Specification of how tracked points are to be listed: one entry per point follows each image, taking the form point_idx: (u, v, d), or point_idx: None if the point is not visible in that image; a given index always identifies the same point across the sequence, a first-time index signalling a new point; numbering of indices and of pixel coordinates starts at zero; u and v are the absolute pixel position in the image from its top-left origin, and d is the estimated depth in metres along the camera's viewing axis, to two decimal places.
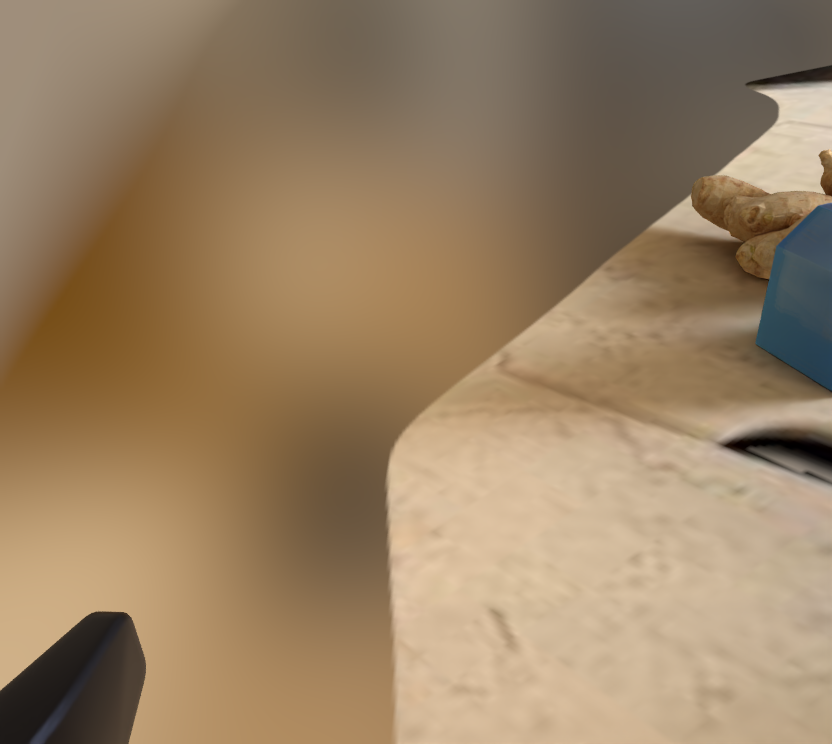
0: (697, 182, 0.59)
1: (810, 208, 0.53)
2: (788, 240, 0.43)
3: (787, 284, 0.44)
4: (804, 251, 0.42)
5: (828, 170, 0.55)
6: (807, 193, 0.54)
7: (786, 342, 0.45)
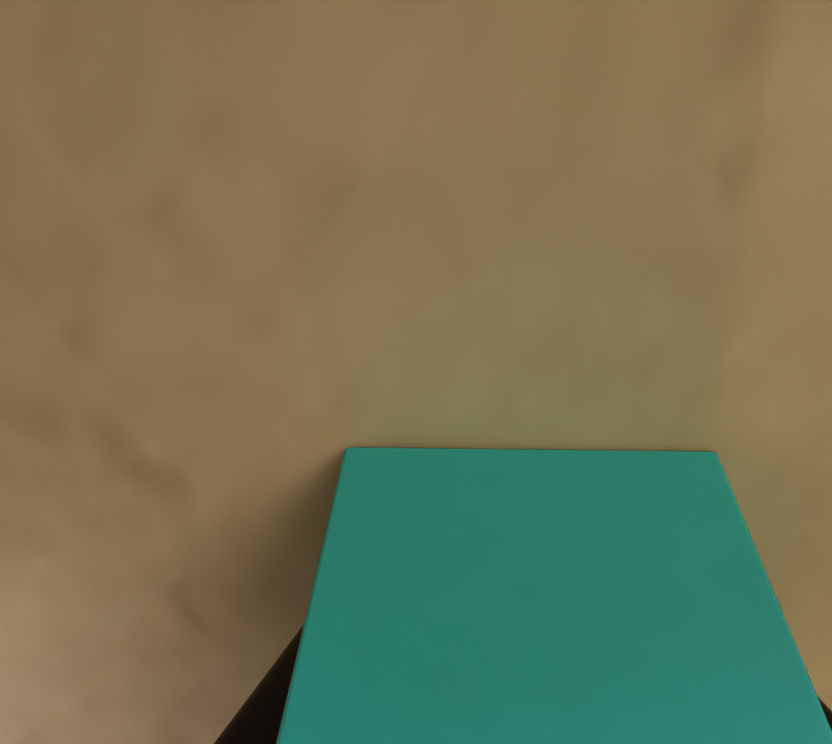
0: None
1: None
2: None
3: None
4: None
5: None
6: None
7: None
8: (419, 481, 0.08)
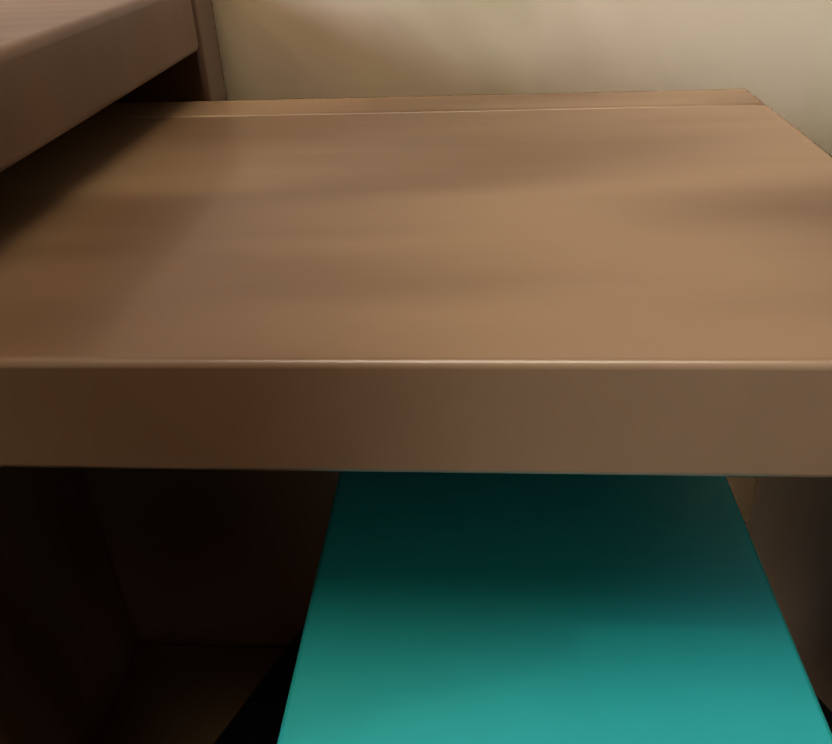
0: None
1: None
2: None
3: None
4: None
5: None
6: None
7: None
8: (419, 484, 0.08)
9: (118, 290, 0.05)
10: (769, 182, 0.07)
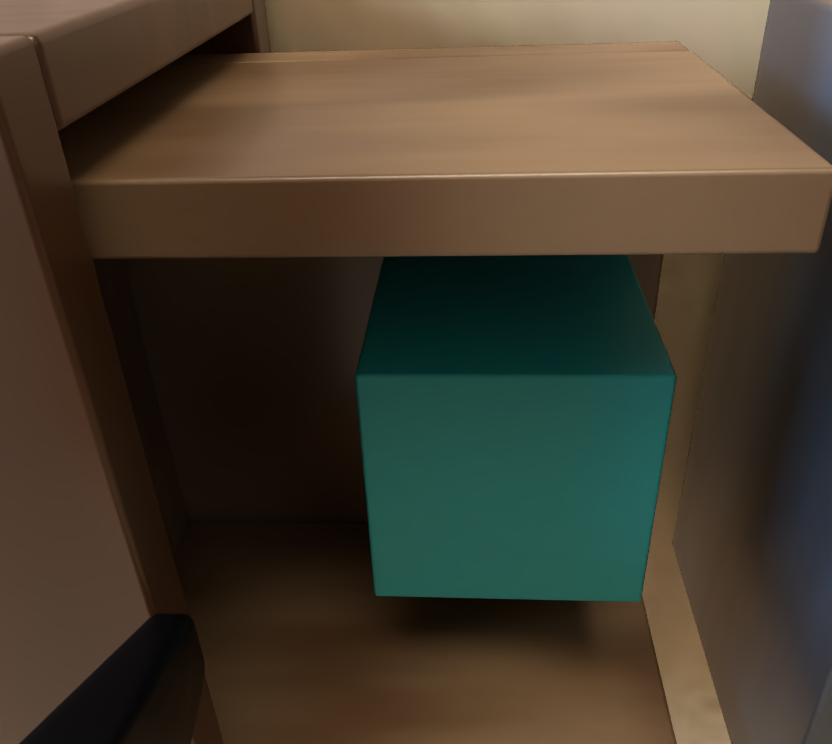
0: None
1: None
2: None
3: None
4: None
5: None
6: None
7: None
8: (434, 263, 0.13)
9: (232, 150, 0.08)
10: (676, 93, 0.09)
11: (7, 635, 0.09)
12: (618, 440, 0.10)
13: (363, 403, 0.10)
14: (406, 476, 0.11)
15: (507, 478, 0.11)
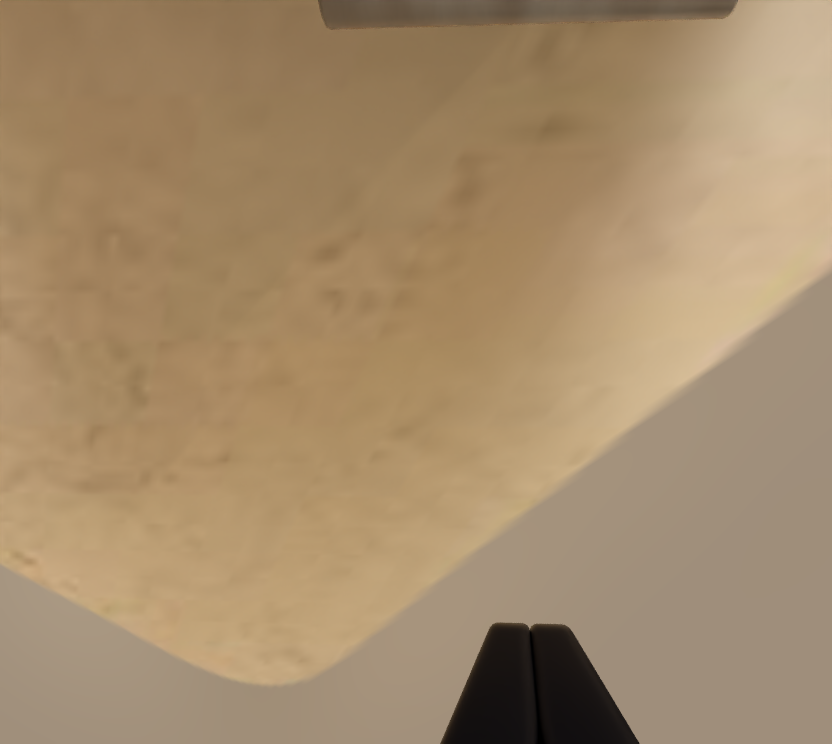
0: None
1: None
2: None
3: None
4: None
5: None
6: None
7: None
8: None
9: None
10: None
11: None
12: None
13: None
14: None
15: None
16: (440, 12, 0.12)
